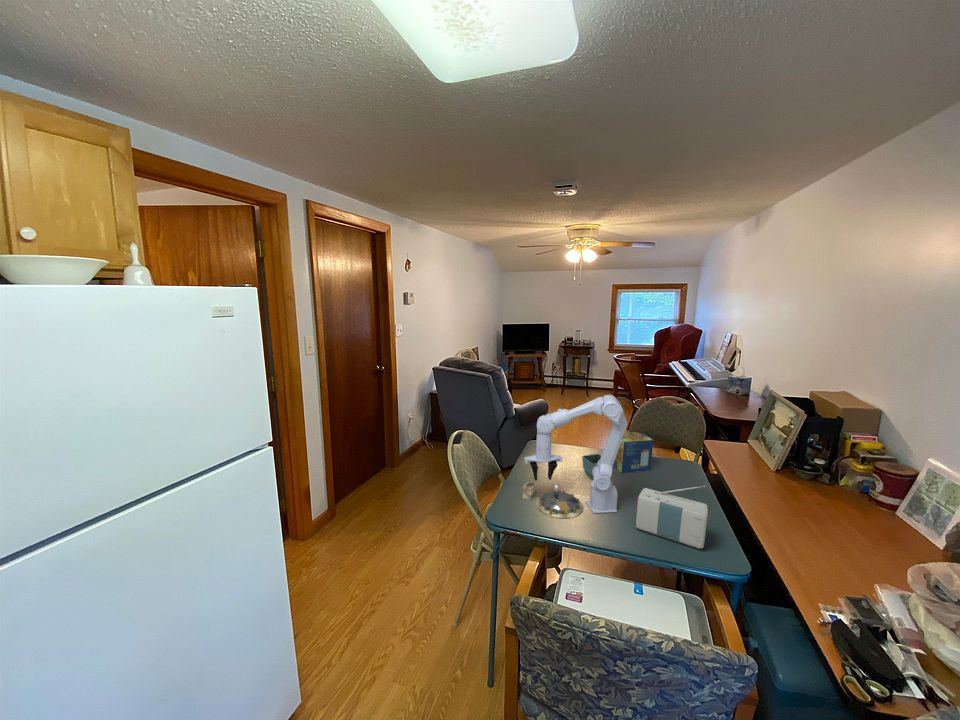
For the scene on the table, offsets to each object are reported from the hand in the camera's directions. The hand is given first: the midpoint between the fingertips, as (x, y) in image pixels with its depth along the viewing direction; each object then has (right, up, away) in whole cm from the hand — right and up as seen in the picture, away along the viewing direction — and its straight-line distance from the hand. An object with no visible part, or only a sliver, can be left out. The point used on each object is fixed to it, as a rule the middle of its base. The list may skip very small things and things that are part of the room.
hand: (542, 479), depth 154 cm
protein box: (+47, -4, +32) cm, 57 cm away
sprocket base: (+6, -10, -2) cm, 12 cm away
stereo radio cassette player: (+41, -14, -19) cm, 47 cm away
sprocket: (+6, -10, -2) cm, 12 cm away
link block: (-4, -9, +5) cm, 11 cm away
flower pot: (+27, -6, +22) cm, 35 cm away
